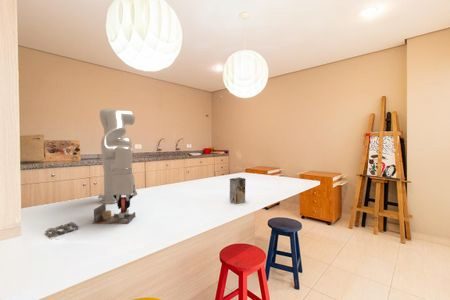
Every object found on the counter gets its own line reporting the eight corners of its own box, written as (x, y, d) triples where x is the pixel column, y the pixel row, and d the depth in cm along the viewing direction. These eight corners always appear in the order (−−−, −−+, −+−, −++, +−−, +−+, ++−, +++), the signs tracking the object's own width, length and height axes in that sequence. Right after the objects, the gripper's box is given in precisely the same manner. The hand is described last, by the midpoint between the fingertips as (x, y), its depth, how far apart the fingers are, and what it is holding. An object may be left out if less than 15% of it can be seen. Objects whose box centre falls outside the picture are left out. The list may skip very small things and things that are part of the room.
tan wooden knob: (100, 221, 104) (100, 213, 103) (104, 218, 108) (104, 210, 107) (108, 221, 104) (108, 213, 104) (112, 218, 108) (112, 210, 108)
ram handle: (118, 221, 103) (118, 199, 103) (123, 217, 109) (123, 196, 108) (124, 221, 103) (124, 199, 103) (129, 217, 109) (128, 196, 108)
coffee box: (238, 199, 150) (239, 177, 149) (245, 201, 145) (245, 178, 144) (229, 201, 144) (229, 178, 143) (235, 204, 139) (236, 180, 138)
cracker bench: (91, 226, 101) (91, 210, 100) (102, 218, 111) (102, 203, 110) (128, 226, 101) (127, 210, 101) (136, 218, 111) (135, 203, 111)
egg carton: (50, 242, 86) (50, 232, 86) (44, 237, 90) (43, 227, 90) (80, 232, 95) (79, 224, 95) (73, 228, 99) (72, 220, 99)
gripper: (102, 172, 100) (103, 210, 102) (137, 173, 101) (137, 210, 102) (110, 170, 108) (110, 205, 109) (142, 170, 109) (143, 205, 110)
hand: (123, 207), depth 106 cm, fingers closed on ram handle, 2 cm apart
